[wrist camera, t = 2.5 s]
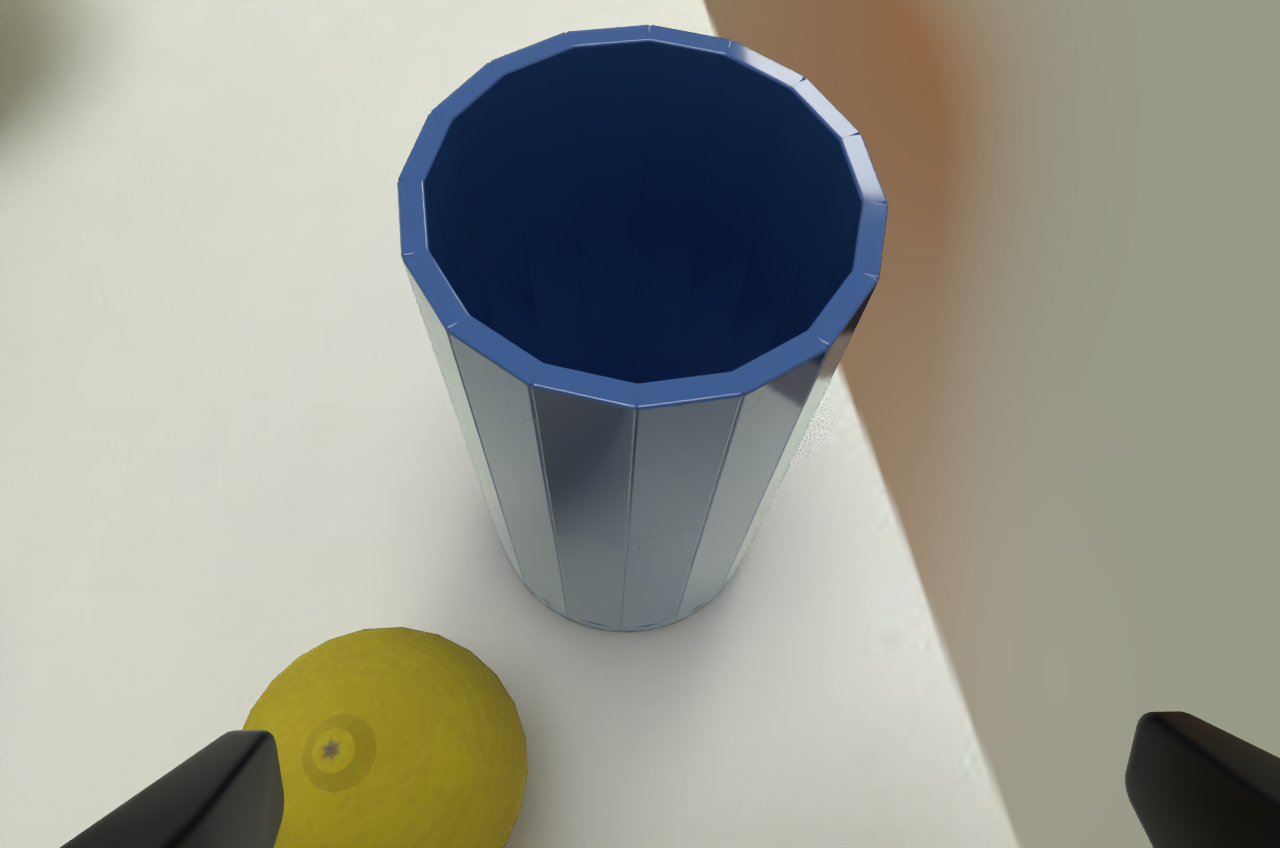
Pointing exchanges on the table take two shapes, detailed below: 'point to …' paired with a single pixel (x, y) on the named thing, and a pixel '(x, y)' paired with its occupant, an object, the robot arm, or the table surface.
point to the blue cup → (637, 301)
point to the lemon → (394, 745)
